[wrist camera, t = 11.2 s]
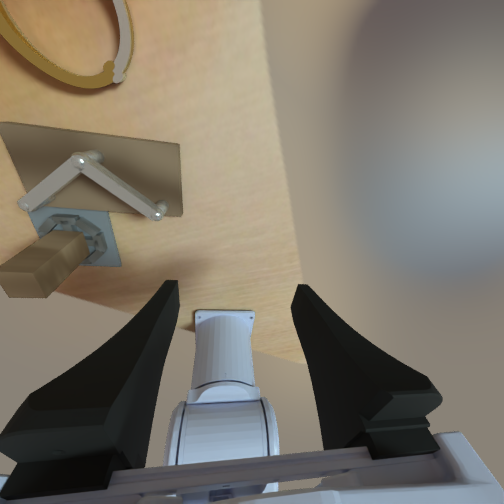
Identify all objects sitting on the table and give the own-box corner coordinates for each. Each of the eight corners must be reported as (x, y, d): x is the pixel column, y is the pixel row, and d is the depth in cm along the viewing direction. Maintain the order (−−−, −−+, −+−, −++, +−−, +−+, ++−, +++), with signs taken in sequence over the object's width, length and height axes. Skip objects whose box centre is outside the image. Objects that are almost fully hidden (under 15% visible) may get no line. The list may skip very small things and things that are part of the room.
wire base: (182, 212, 20) (181, 216, 19) (41, 201, 18) (32, 205, 18) (179, 143, 17) (177, 145, 16) (7, 121, 15) (-6, 121, 14)
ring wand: (111, 261, 22) (72, 310, 17) (56, 258, 21) (-4, 309, 16) (98, 216, 19) (47, 257, 14) (35, 211, 19) (-46, 253, 13)
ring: (80, 118, 14) (-116, -65, 9) (97, 110, 16) (-49, -37, 11) (155, 40, 12) (-34, -240, 7) (163, 44, 15) (24, -163, 10)
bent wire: (172, 207, 20) (162, 224, 17) (51, 197, 18) (16, 213, 15) (168, 154, 17) (155, 162, 14) (28, 137, 16) (-19, 142, 13)
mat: (121, 265, 23) (120, 266, 23) (54, 262, 22) (52, 264, 22) (107, 208, 19) (105, 210, 19) (26, 202, 18) (23, 203, 18)
